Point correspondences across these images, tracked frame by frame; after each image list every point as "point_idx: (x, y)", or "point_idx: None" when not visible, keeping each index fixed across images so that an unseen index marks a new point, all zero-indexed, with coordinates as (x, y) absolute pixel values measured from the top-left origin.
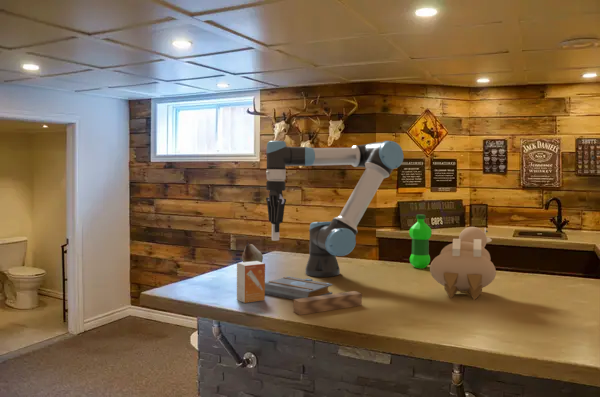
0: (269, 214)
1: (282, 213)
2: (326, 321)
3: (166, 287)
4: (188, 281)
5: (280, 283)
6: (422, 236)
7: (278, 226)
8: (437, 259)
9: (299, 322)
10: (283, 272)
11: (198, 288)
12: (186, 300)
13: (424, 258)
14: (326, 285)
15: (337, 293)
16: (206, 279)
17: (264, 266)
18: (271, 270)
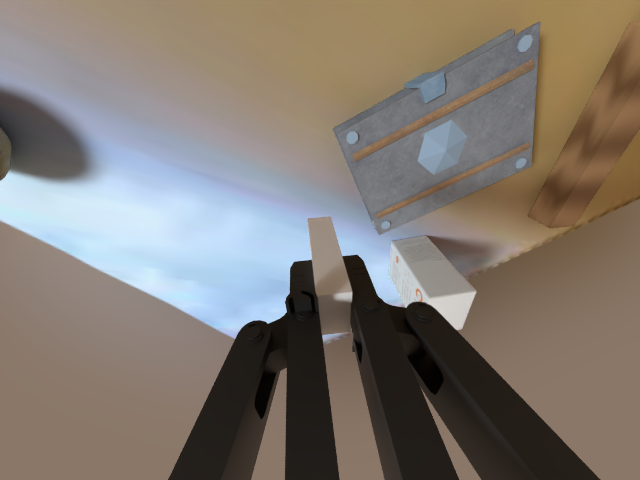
0: (262, 435)
1: (521, 414)
2: (616, 187)
3: None
4: (206, 317)
5: (417, 199)
6: None
7: (372, 291)
8: None
9: (572, 229)
10: (75, 20)
11: (276, 309)
12: None
13: None
14: (532, 64)
15: (627, 102)
16: (191, 289)
17: (471, 287)
18: (22, 62)
